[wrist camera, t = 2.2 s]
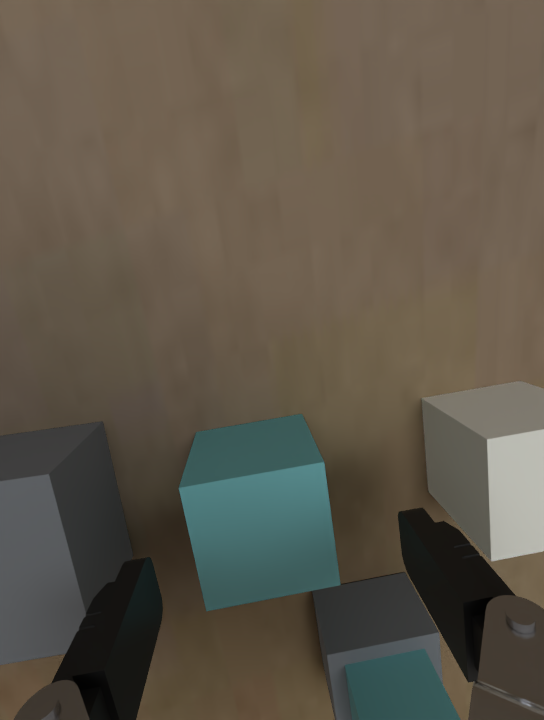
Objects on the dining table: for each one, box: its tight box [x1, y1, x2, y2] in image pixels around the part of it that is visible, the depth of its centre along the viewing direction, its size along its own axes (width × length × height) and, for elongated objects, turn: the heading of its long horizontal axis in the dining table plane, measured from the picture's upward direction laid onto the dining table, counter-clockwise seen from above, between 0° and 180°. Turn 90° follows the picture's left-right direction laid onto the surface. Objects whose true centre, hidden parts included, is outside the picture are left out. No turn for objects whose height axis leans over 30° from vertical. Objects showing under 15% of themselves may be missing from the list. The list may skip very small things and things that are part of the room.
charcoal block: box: [0, 422, 133, 665], centre depth 15 cm, size 7×7×5 cm
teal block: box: [179, 414, 341, 611], centre depth 16 cm, size 5×5×5 cm
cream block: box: [421, 381, 544, 561], centre depth 16 cm, size 5×5×5 cm
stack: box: [312, 572, 460, 720], centre depth 17 cm, size 5×5×7 cm
